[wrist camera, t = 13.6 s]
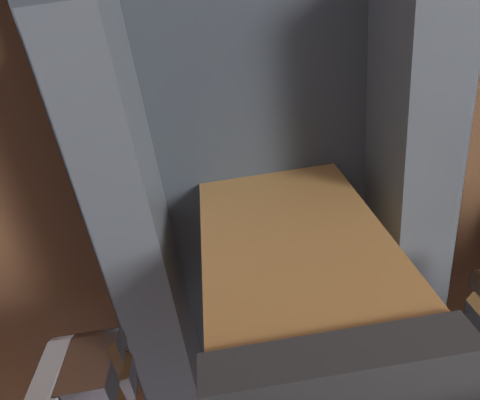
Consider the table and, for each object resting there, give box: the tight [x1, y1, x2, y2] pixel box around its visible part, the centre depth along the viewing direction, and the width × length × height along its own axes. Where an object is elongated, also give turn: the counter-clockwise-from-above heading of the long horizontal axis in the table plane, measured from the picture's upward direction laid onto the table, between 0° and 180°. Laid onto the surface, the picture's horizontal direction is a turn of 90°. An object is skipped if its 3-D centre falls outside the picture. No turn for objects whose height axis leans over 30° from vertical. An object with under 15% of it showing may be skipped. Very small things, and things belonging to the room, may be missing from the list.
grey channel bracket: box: [7, 0, 480, 400], centre depth 12 cm, size 16×11×4 cm
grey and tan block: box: [197, 163, 480, 400], centre depth 10 cm, size 4×4×7 cm
